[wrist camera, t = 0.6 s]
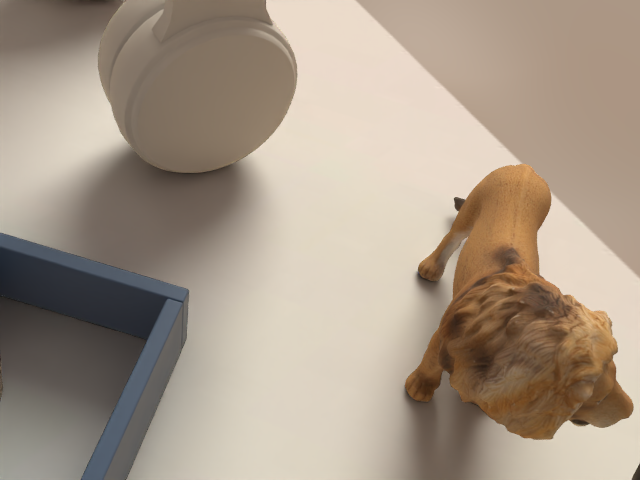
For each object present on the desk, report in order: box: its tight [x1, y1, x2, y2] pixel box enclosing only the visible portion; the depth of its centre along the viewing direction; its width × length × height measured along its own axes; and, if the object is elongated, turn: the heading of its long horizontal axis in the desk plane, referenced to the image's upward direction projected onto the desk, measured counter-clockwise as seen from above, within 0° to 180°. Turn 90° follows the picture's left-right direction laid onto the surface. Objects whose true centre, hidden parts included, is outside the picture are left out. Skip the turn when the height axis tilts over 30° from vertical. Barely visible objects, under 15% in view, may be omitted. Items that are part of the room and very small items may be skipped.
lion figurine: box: [405, 164, 633, 440], centre depth 24 cm, size 15×5×9 cm, turn 175°
